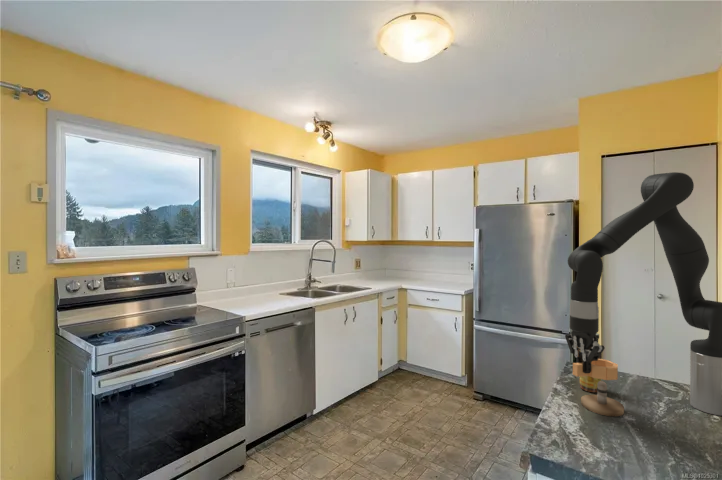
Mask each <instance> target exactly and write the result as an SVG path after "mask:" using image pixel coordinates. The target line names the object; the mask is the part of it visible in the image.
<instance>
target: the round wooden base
mask: <svg viewBox="0 0 722 480" xmlns="http://www.w3.org/2000/svg"><path fill="white" fill-rule="evenodd" d="M580 402H581V403H580V404H581V406H582V407H583V408H585V409H586V410H587V411H590V412H592V413H594V414H598V415H601V416H607V417H620V416H623V415H624V413H625V407H624V405H623V403H621V402H620V401H618V400H616V399H613V398H611V397H608V384H607V383H606V382H605V380H604V381H603V380H601V381H599V382H598V384H597V392H596V394H585V395H582V396H581V397H580Z"/></svg>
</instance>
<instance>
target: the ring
mask: <svg viewBox="0 0 722 480" xmlns="http://www.w3.org/2000/svg"><path fill="white" fill-rule="evenodd" d="M618 367H619V365H618V363H617V362H616V363H615V362H612V361H610V360H608V359H603V358H602V359H598V360H597V361H592V362H591V372H590V373H583V365H582V363H576V362H572V375H573V376H575V377H579V378H580V376H590V377H593V378H598V379H601V381H603V380H604V381H617V380H618V375H619V373H618V371H619V370H618V369H619V368H618Z"/></svg>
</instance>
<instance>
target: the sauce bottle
mask: <svg viewBox="0 0 722 480" xmlns="http://www.w3.org/2000/svg"><path fill="white" fill-rule="evenodd" d="M596 338H597V342H598V343H599V339H600V334H599V333H598V332H597V333H596ZM588 350H589V349H588ZM602 356H603V353H602V354H601V355H600V357H599V359H603V358H602ZM587 357H588V354H587ZM599 381H602V379H598V378H593V377H590V376H579V387H580V389H582V391H585V392H589V393H597V384H598V382H599Z"/></svg>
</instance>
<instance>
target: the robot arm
mask: <svg viewBox="0 0 722 480" xmlns="http://www.w3.org/2000/svg"><path fill="white" fill-rule="evenodd" d="M694 184H695V183H694V180H693V178H692V177H691V176H690V175H689V174H686V173H684V172H666V173H655V174H651V175H648V176H647V177H645V178H644V180H643V181H642V183H641V184H640V194H641V198H642V200H643V202H641V203H640V204H638V205H637V206H636V207H634V208H632V209H631V210H628V211H626V212H624V213H623V214H621V215H619V216H618V217H616V218H614V219H613V220H611V221H610V222H609V223H607V224H606V225H605V226H604V227H603V228H602V229H601V230H599V231H598V233H596V234H595V235H594V236H593V237H592V238H590V239H589V240H587V241H586V242H583V243H582V244H581V245H579V246H578V247H576V248H575V249H574V250H572V252H570V254H569V256H568V258H567V264H568V267H569V268H570V269H571V270H572V271H574V272H576V276H575V281H573V282H572V283H571V285H570V302H569V329H570V330H571V332H570V334H565V335H564V336H565V337H564V338H565V340H566V343H567V346H568V348H569V352H570V353H571V354H572V355H574V357H575V363H582V365H583V373H590V372H591V362H592V361H597V360H598V359H599V357H600V355H601V354H602V355H603V352H604V350H605V345H603V344H602V345H600V343H599V341H598V342H597V338H596V333H598V332H599V330H600V329H599V325H600V324H599V321H600V319H599V318H600V317H599V315H600V313H599V312H600V310H599V309H600V307H599V302H598V301H599V290H598V289H599V284H600V282H601V277H602V273H603V269H604V268H603V267H604V265H603V264H604V263H603V259H602V258H603V257H604V256H607V255H611V254H614V253H615V252H616V251H618V250H619V249H620V248H621V247H622V246H624V245H625V244H626V243H627V242H628V241H629V240H630V239H632V238H633V237H634V235H636V234H637V233H639V232H640V231H641V230H643V229H644V228H645V227H646V226H648V225H649V224H651V223H652V222H653V223H654V226H655V227H656V230H657V233H658V236H659V239H660V241H661V244H662V247H663V252H664V253H665V256H666V260H667V262H668V264H669V268H670V270H671V273H672V276H673V278H674V282H675V287H676V289H677V293H678V294H677V295H678V298H679V303H680V308H681V312H682V316H683V318H684V320H685V322H686V323H687V325H689V326H691V327H693V328H696V329H700V330H704V331H708V337H707V338H705V339H704V338H703V339H693V340H691V342H690V348H689V349H690V350H689V351H690V354H689V355H690V356H689V358H690V359H689V360H690V361H689V363H690V365H689V367H690V368H689V369H690V370H689V371H690V372H689V373H690V375H689V382H690V383H689V389H690V390H689V398H690V399H689V404H690V406H691V407H692V408H694V409H696V410H698V411H701V412H704V413H707V414H711V415H715V416H722V302H721V301H716V300H709V299H706V298H705V297H704V296H703V294H702V291H701V280H702V279H703V277H704V275H705V273H706V271H707V270H708V267H709V263H710V258H709V254H708V252H707V249H706V245H705V243H704V240H703V238H702V237H701V236H700V235H699V233H698V232H697V231H696V230H695V229H694V228H693V227H692V226H691V225H690V224H689V223H688V222H687V221H686V220H685V218H684V217H683V216H682V215H681V213H680V210H678V207H677V206H678V205H680V204H682V203H683V202H685V201H687V199H688V198H689V197H690V196H691V195H692V193H693V191H694V188H695V185H694ZM588 349H589V350H588ZM587 354H588V357H587Z"/></svg>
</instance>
